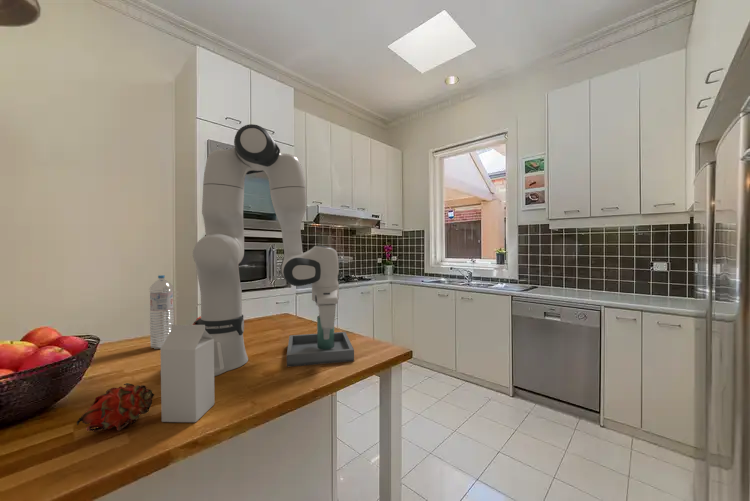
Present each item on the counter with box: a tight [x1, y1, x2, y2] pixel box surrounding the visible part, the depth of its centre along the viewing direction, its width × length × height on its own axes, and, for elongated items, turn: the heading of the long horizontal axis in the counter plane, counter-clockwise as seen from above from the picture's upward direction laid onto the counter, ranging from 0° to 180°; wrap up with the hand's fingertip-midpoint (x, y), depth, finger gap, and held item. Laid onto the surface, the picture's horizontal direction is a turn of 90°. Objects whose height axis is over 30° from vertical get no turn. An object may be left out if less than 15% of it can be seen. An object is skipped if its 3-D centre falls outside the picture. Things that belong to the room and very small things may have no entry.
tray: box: [286, 331, 355, 368], centre depth 103 cm, size 20×20×4 cm
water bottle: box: [149, 274, 175, 350], centre depth 109 cm, size 7×7×25 cm
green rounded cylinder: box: [316, 315, 335, 349], centre depth 103 cm, size 6×6×10 cm
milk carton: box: [159, 324, 216, 423], centre depth 66 cm, size 7×7×19 cm
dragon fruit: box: [76, 382, 156, 433], centre depth 62 cm, size 8×8×12 cm
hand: (325, 335), depth 103 cm, fingers closed on green rounded cylinder, 6 cm apart
